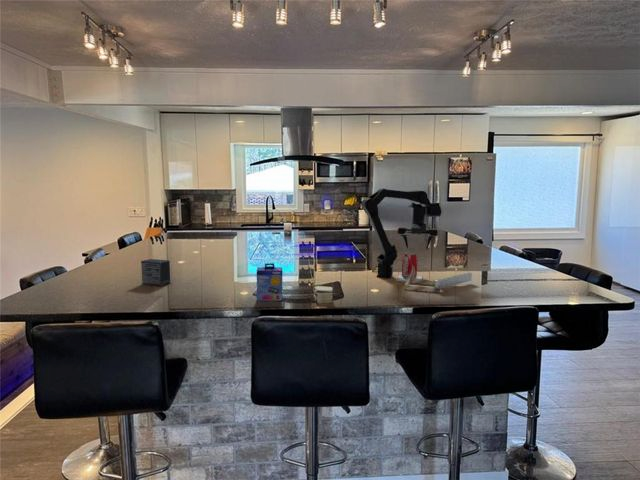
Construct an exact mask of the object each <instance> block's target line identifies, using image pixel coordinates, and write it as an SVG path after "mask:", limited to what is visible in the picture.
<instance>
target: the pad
mask: <svg viewBox="0 0 640 480" xmlns="http://www.w3.org/2000/svg"><path fill="white" fill-rule="evenodd" d="M415 279H424V278H423V276H421V275H417V277H416V278H415ZM407 280H408V279H405V278H404V277H402V274H398V276H397V277H396V278H395V281H397V282H405V281H407Z"/></svg>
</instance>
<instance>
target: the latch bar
mask: <svg viewBox="0 0 640 480" xmlns="http://www.w3.org/2000/svg"><path fill="white" fill-rule="evenodd" d="M472 275H473V274H472V272H466V273H465V272H464V273H461V274H457V275H453V276H449V277H444V278H440V279H436V280H435V279H434V280H435V285H434V289H440V290H441V289H444V288H448V287H453V286H456V285H459V284H460V285H461V284H463V283H468V282H471V281H472Z"/></svg>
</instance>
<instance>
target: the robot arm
mask: <svg viewBox="0 0 640 480" xmlns="http://www.w3.org/2000/svg"><path fill="white" fill-rule="evenodd" d="M385 198H391V199H392V198H393V199H400V200H401V199H403V200H408V201H411V203H410V204H409V205H408V207H409V208H411V209H412V218H411V219H412V223H411V225H410V226H411V227H410V228H408V227H407V226H400V227H398V228H397V235H400V236H401V237H402V238H403V240H404V242H405V246H406V249H409V234H413V235H414V234H415V235H416V234H417V235H422V234H425V235H428V236H427V242H426V250H427V251H428V249H429V246H430V243H431V241H432V239H433V238H436V237H438V236H439V229H438V228H429V229H427V223H426V221H425V219H426V217H427V218H436V217H437V218H439V217H441V215H442V208H441V206H440V205H441V204H440V202H431V199H429V197H428V194H427V192H426V191H425V190H417V189H416V190H409V191H408V190H407V191H405V190H396V189H395V190H394V189H387V188H379V189H378V190H377V191H375V192H374V193H373V194H371V195H370V196H368V197H365V198H363V199H362V201H361V203H360V205H361V208H362V209H363V210H362V211H364V213H365V214H366V215H367V217H368V218H369V220H370V223H371V225H372V227H373V231H374V233H375V235H376V238H377V240H378V242H379V247H380V248H379V250H380V254H379V255H378V256H377V257H376V261H377V275H376V277H377V278H384V279H385V278H386V279H391V277H392V276H393V274H394V267H393V265H394V263H395V261H396V260H397V258H398V253H399V252H398V251H397V248H396V245H395V244H394V243H392V242H390V241H389V238H388V236H387V234H386V231H385V229H384V226H383V224H382V221H381V219H380V216H379V208H378V207H379V205H380V204H381V203H382V201H383V200H384V199H385Z"/></svg>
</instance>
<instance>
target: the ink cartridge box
mask: <svg viewBox="0 0 640 480" xmlns="http://www.w3.org/2000/svg"><path fill="white" fill-rule="evenodd" d="M282 300H283V267H282V266H281V267H280V266H275V263H274V262H272V263H270V262H269V263H264V267H263V266H261V267H257V268H256V301H257V302H259V301H260V302H261V301H263V302H265V301H267V302H269V301H270V302H272V301H273V302H274V301H276V302H277V301H282Z"/></svg>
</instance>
